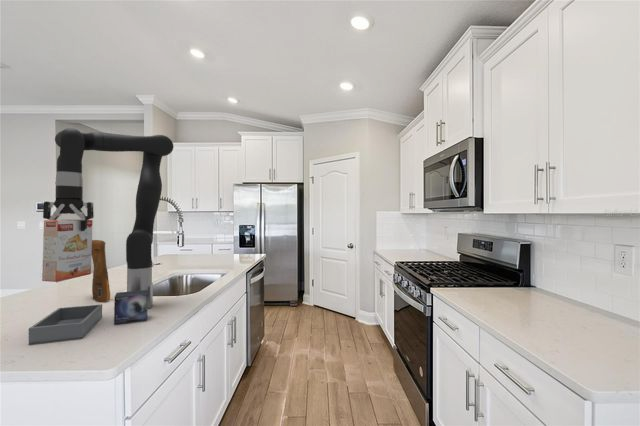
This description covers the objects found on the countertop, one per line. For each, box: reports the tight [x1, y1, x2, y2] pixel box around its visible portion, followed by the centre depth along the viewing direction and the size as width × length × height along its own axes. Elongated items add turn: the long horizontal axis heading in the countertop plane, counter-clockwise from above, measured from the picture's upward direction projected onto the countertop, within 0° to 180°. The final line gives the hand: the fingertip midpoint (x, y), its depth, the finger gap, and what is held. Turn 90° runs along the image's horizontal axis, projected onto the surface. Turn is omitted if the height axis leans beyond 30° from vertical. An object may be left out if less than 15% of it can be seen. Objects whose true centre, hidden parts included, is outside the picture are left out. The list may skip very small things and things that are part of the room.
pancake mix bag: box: [91, 239, 111, 303], centre depth 144 cm, size 7×19×28 cm, turn 48°
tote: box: [28, 304, 103, 346], centre depth 107 cm, size 14×22×5 cm, turn 21°
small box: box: [113, 290, 148, 326], centre depth 116 cm, size 11×6×10 cm, turn 117°
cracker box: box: [41, 219, 93, 283], centre depth 110 cm, size 14×6×21 cm, turn 174°
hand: (68, 231), depth 110 cm, fingers closed on cracker box, 8 cm apart
